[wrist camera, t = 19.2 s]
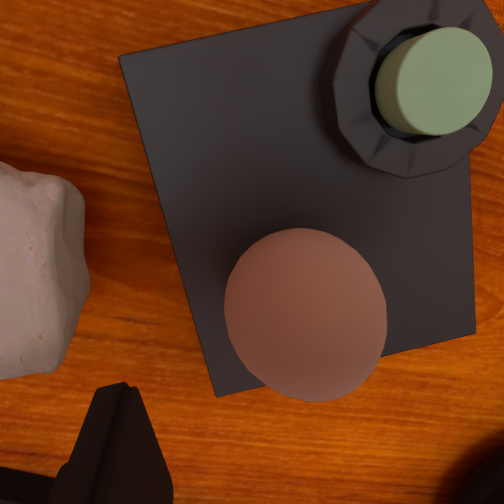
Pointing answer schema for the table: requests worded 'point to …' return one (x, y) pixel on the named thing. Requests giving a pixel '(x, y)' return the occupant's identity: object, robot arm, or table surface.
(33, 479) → the sushi set
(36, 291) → the ceramic sculpture
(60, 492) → the robot arm
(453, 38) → the button
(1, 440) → the table surface
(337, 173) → the grey push button base
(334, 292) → the egg
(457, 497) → the container
